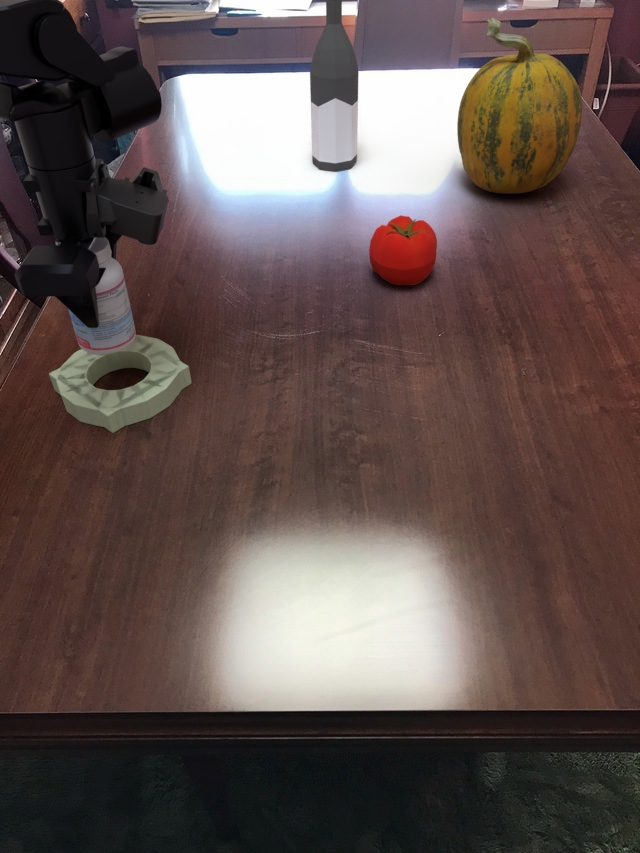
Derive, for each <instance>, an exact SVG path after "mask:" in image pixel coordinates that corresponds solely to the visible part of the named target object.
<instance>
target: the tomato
mask: <svg viewBox="0 0 640 853" xmlns="http://www.w3.org/2000/svg"><path fill="white" fill-rule="evenodd" d="M437 250H438V239H437V234H436V232H435V230H434V229H433V227H432V226H431V225H430V224H429V223H428V222H427V221H425V220H424V219H419V220H417V219H416V218H414V219H412V218H411V216H409V215H398V216H396V217H394V218H392V219H390V220H389V221H388V222H387V224H386V225H385V224H381V225H380V226H378V227H377V228H376V229H375V231H374V233H373V234H372V237H371V239H370V241H369V248H368V255H369V262H370V265H371V268H372V271H374V272H375V273H376V274H378V275H379V276H380V277H381V279H383V280H385V281H386V282H387V283H389V284H391V285H395V286H416V285H418V284H420V283H422V282H423V281H424V280H425V279H426V278H427V277H428V276H429V275H431V272H432V270H433V269H434V267H435V265H436V260H437Z"/></svg>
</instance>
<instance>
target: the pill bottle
mask: <svg viewBox="0 0 640 853" xmlns="http://www.w3.org/2000/svg"><path fill="white" fill-rule="evenodd" d="M90 251H92V252H93V253H94V254H96V255H97V259H98V263H99V268H106V270H105V272H104V274H103V276H102V278H101V280H100V282H99V284H98V285H97V286H96V287H95V288H96V297H97V306H98V317H99V326H98V328H88V327H87V326H85V325H84V324H83V323H82V322H81V321H80V320H79V319H78V318H77V317H76V316H75V315H74V314H73V313H72V312H71V311H70V310H69V309H68V308H67V310H68V313H69V318H70V321H71V325H72V327H73V331H74V334H75V338H76V341H77V344H78V346H79V348H80V349H83V350H84V351H86V352H88V353H91V354H95V355H106V354H111V353H115V352H118V351H121V350H123V349H125V348H127V347H128V346H130V345H131V344H132V342H133V341H134V339H135V336H136V335H137V332H136V331H137V330H136V327H135V322H134V317H133V312H132V306H131V303H130V302H131V301H130V298H129V292H128V289H127V284H126V279H125V275H124V270H123V268H122V267H123V266H122V265H121V264H120V262H119V261H118V260H117V259H116V260H115V259H113V258H112V257H111V253H112V251H111V249H110V244H109V241H108V240H107V238H105V237H104V238H96V240H95V242H94V244H93V246H92V247H91V249H90Z"/></svg>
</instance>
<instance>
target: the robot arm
mask: <svg viewBox="0 0 640 853" xmlns="http://www.w3.org/2000/svg"><path fill="white" fill-rule="evenodd" d="M138 54H139V53H138V50H137V49H135V48H132V47H127V46H122V45H121V46H117V47H114V48H111V49H110V50H108V51H106V52H105V53H103V54H98V53H97V51H96V50H95V49H94V48H93V47H92V45H91V44H90V43H89V42H88V41H87V40H86V39H85V38H84V36H83V35H82V34H81V33H80V32H79V31H78V27H77V24H76V22H75V20H74V18H73V15H72V14H71V12H70V11H69V10H68V9H67V7H66V6H65V5H64V2H62V1H61V0H0V76H6V77H12V78H18V79H28V80H37V81H34V82H32V83H28V84H25V85H22V86H17V85H16V84H13V83H10V82H5V81H3V80H0V119H2V120H4V121H9V122H12V123H14V126H15V128H16V131H17V135H18V138H19V142H20V145H21V147H22V151H23V154H24V158H25V162H26V164H27V168H28V171H29V173H28V174H27V175H26V176H25V178H24V179H23V181H22V182H23V185H24V188H25V191H26V193H35V195H36V197H37V200H38V204H39V207H40V211H41V214H42V217H41V219H40V221H38V223H37V225H36V227H37V230H38V233H39V236H41V237H42V236H46V237H47V236H48V237H49V236H51V237H52V236H54V238H55V241H54V243H55V245H34V246H33V247H32V249H31V250H30V251H29V252H28V253H27V255H26V257H25V258H24V260H23V261H22V262H21V264H20V265H19V267H18V268H17V270H16V271H15V272H14V277H15V281H16V283H17V286H18V289H19V292H20V294H21V295H22V296H23V297H55V298H56V299H57V300H58V301H59V302H60V303H61V304H62V305H64V306H65V307H66V308H67V310H68V309H69V310H70V311H71V312H72V313H73V314H74V315H75V316H76V317H77V318H78V319H79V320H80V321H81V322H82V323H83V324H84V325H85V326H87V327H88V328H98V326H99V317H98V306H97V297H96V288H95V287H96V286H97V285H98V284H99V282H100V280H101V278H102V276H103V274H104V272H105V270H106V268H99V263H98V259H97V255H96V254H94V253H93V252H92V251H90V249H91V247H92V246H93V244H94V242H95V240H96V238H104V237H105V238H107V240H108V241H109V244H110V249H111V251H112V253H111V257H112V258H113V259H115V260H116V261H117V250H118V249H117V248H118V241H119V240H120V239H121V237H122V236H123V237H127V238H129V239H133V240H137V241H138V243H140V244H143V245H146V246H152V245H156V244H157V243H158V240H159V237H160V235H161V232H162V230H163V228H164V223H165V219H166V214H167V210H168V204H169V201H170V200H169V199H170V198H169V196H168V190H167V189H164V187H163V184H162V181H161V178H160V174H159V172H158V171H157V170H154V169H151V168H148V167H145V166H144V167H142V168H141V169H140V171H138V173H137V174H136V175H135V176H134V177H133V179H132V180H131V181H130V179H131V178H130V177H127V176H125V177H124V179H123V178H113V177H111V175H110V172H109V167H108V164H107V163H105V162H104V159H103V158H96V156H95V152H94V148H93V144H92V140H91V137H92V138H94V139H95V140H97V141H99V142H102V143H109V142H111V141H114V140H116V139H119V138H122V137H123V136H126V135H128V134H131V133H134V132H136V131H138V130H141V129H144V128H146V127H148V126H151V125H153V124H155V123H156V122H157V121H158V120H159V119H160V117H161V114H162V109H163V108H162V107H163V104H162V96H161V92H160V90H159V89H158V88H157V85H156V83H155V80H154V79H153V77H152V75H151V73H149V71H148V69H146V68H145V67H144V65H142V64H141V63H140V61H139V56H138ZM62 80H66V82H65V83H62V84H59V85H55V84H54V83H51V82H60V81H62ZM69 310H68V311H69Z"/></svg>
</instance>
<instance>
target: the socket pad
mask: <svg viewBox="0 0 640 853" xmlns="http://www.w3.org/2000/svg"><path fill="white" fill-rule="evenodd" d="M121 369H138V370H142V371H145V372H147V373H148V374H147V375H146V376H145V377H144V378H143V379H142V380H140V381H138V382H137V383H135V384H134V385H131V386H128V387H125V388H122V389H108V390H107V389H103V388H99V387H95V386H94V385H95V383H97V382H98V381H99V379H101V378H102V377H104V376H105V375H108V374H109V373H110V372H111V373H112V372H114V371H115V372H116V371H118V370H121ZM48 375H49V376H48V377H49V378H50V382H51V383H52V387H53V389H54V392H56V393H57V394H59V395H60V397H61V400H62V403H63V405H64V408H65V410H66V412H67V413H68V414H70V415H71V416H72V417H73V418H75V419H76V420H78V421H79V422H80V423H84V424H87V425H92V426H97V427H100V428H101V427H102V428H105V429H106V430H107V431H109V432H110V433H111V434H114V433H116V432H117V431H119V430H121V429H122V428H124V427H125V426H130V425H134V424H136V423H139V422H143V421H147V420H149V419H152V418H153V417H155V416H156V415H158V414H160V413H161V412H162V411H164V410H166V409H167V408H169V407H170V406H172V404H173V403H174V402H175V400H176V399H177V397H178V396H179V395H180V393H181V392H182V390H184V389H186V388H187V387H188V386H190V385H191V384H192V383H193V382H192V377H191V371H190V366H189V365H187V364H185V363H184V362H183V361H181V359H180V358H179V356H178V354H177V352H176V350H175V349H174V347H173V346H171V345H169V344H168V343H166V342H164V341H163V340H161V339H159V338H155V337H151V336H146V335H141V334H136V336H135V339H134V341H133V342H132V344H131V345H130V346H128V347H127V348H125V349H123V350H121V351H118V352H115V353H111V354H106V355H95V354H91V353H88V352H86V351H84V350H83V349H82V348H80V349H79V350H77V351H75V352H74V353H73V354H71V356H70V357H69V358H68V359H67V360H65V362H64V363H63V364H62V365H61V366H60V367H59V368H57V369H55V370H53V371H51V372H49V373H48Z"/></svg>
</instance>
